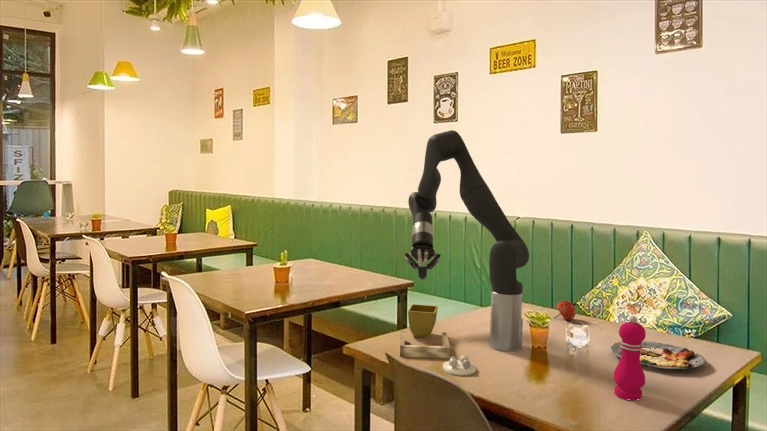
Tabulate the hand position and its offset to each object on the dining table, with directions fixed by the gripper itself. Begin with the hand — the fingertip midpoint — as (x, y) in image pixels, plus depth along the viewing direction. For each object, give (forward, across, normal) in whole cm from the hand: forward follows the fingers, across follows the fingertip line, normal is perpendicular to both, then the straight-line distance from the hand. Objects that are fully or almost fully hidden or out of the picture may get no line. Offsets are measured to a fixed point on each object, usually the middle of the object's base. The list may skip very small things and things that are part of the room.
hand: (422, 278), depth 193 cm
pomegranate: (+1, +53, +23) cm, 58 cm away
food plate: (+30, +68, -6) cm, 75 cm away
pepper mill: (+49, +49, -26) cm, 74 cm away
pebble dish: (+39, +9, -16) cm, 43 cm away
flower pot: (+18, 0, +6) cm, 19 cm away
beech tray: (+28, 0, -4) cm, 28 cm away
